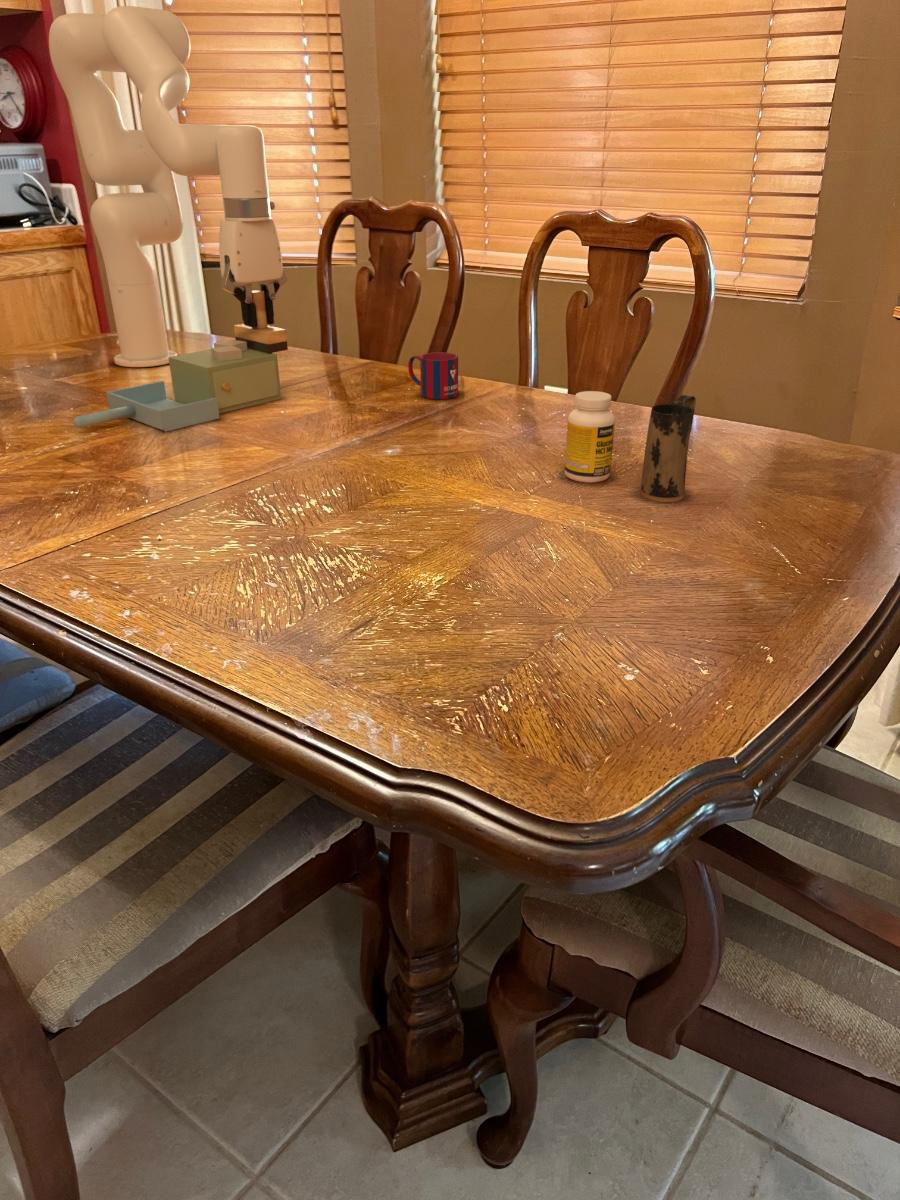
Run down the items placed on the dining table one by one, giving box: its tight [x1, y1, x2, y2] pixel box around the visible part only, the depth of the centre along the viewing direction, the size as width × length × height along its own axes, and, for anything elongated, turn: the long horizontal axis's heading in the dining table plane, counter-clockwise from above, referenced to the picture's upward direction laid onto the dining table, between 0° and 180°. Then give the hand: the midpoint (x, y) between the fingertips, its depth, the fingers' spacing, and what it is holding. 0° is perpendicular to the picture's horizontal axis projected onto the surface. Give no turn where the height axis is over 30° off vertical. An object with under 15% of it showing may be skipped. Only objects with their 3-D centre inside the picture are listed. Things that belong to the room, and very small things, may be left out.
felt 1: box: [213, 338, 247, 352], centre depth 151 cm, size 4×4×2 cm
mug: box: [640, 394, 697, 503], centre depth 108 cm, size 8×6×12 cm
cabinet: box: [168, 348, 282, 415], centre depth 149 cm, size 13×14×8 cm
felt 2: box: [210, 346, 242, 361], centre depth 146 cm, size 4×4×2 cm
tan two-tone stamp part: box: [233, 289, 289, 354], centre depth 151 cm, size 10×4×10 cm, turn 47°
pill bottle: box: [563, 390, 616, 484], centre depth 114 cm, size 6×6×11 cm
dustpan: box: [72, 380, 220, 433], centre depth 139 cm, size 20×17×3 cm
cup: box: [407, 351, 459, 400], centre depth 154 cm, size 7×10×7 cm
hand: (259, 323), depth 151 cm, fingers closed on tan two-tone stamp part, 2 cm apart
